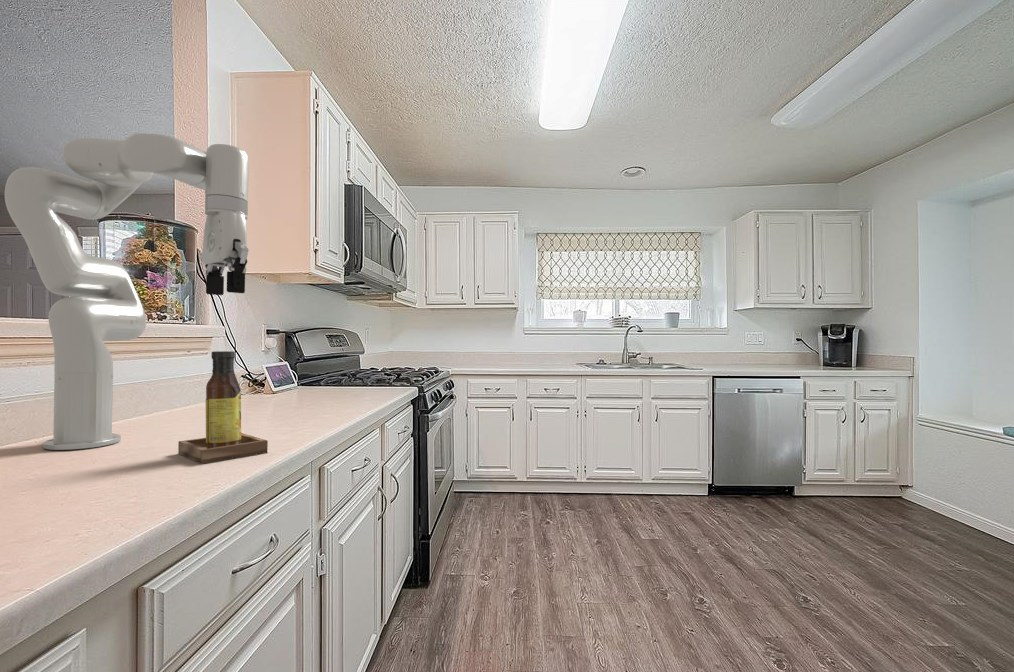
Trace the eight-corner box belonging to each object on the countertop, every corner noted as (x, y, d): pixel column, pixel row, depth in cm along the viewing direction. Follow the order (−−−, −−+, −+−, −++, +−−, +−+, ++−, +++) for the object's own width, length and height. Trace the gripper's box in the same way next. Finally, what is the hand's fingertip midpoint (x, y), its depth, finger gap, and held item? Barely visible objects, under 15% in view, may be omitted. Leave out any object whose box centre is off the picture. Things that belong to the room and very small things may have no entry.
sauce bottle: (247, 448, 100) (249, 351, 100) (215, 454, 95) (217, 351, 95) (229, 444, 104) (231, 350, 104) (198, 449, 99) (200, 350, 99)
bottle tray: (178, 453, 98) (178, 441, 98) (240, 444, 108) (241, 432, 108) (202, 464, 91) (202, 450, 91) (267, 452, 100) (267, 440, 100)
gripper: (189, 211, 102) (187, 294, 102) (225, 198, 91) (223, 290, 91) (227, 218, 108) (226, 296, 108) (265, 206, 97) (264, 293, 97)
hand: (224, 293), depth 100 cm, fingers open, 9 cm apart
